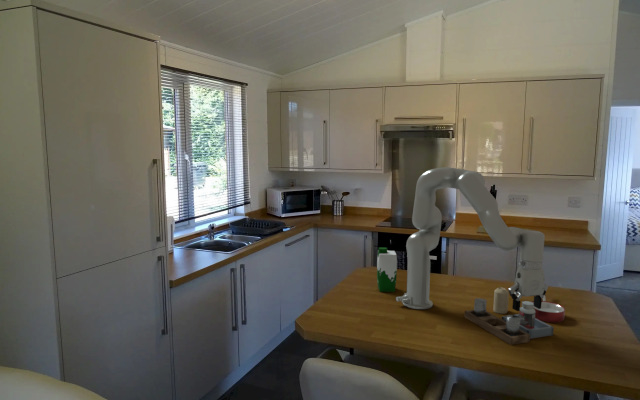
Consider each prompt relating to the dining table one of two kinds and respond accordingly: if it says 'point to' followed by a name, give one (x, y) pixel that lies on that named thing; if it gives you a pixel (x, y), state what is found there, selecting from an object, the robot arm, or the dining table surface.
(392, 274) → the milk carton
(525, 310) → the pill bottle
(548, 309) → the frying pan
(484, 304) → the peg
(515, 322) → the peg
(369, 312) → the dining table surface
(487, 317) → the socket rack
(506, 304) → the candle
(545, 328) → the tray
